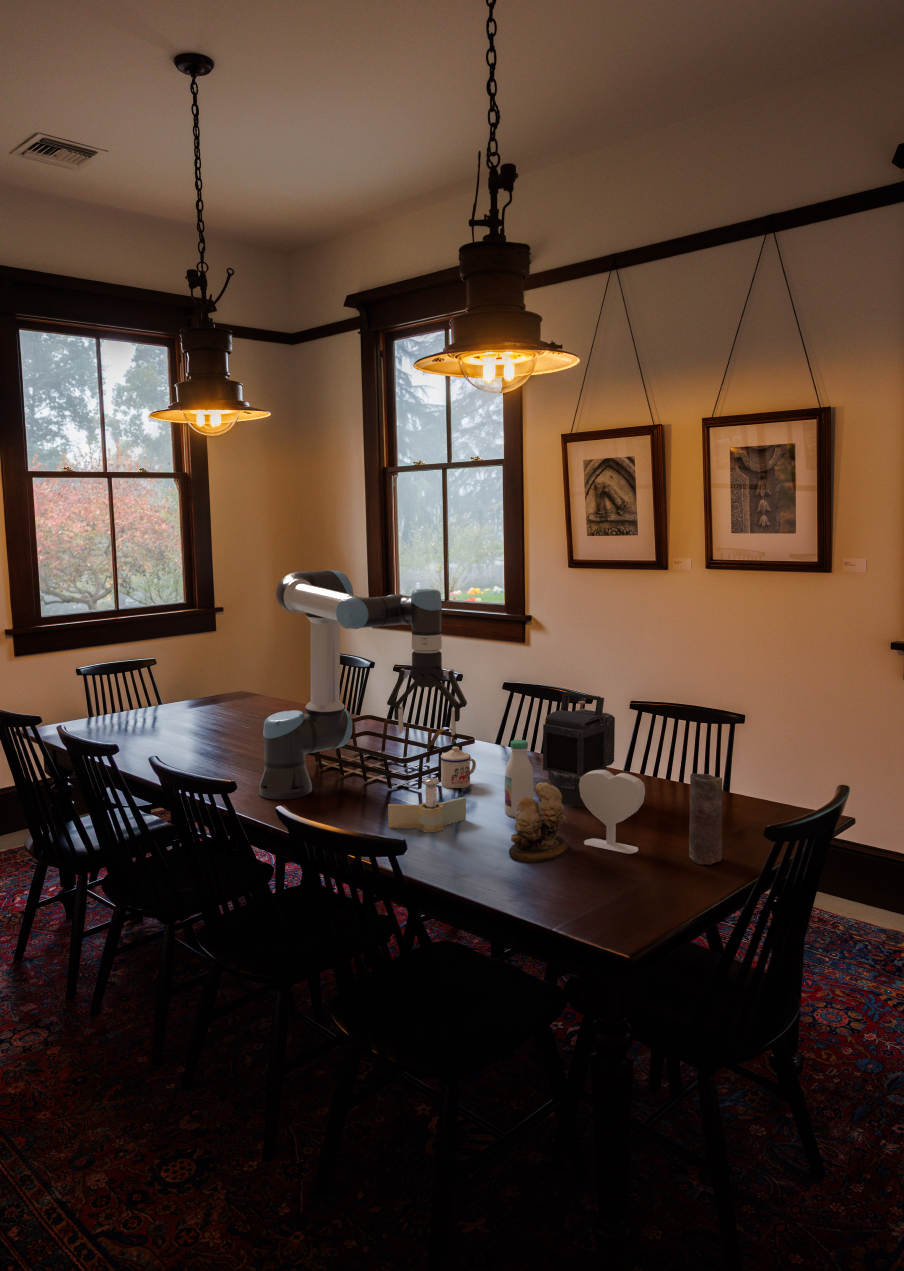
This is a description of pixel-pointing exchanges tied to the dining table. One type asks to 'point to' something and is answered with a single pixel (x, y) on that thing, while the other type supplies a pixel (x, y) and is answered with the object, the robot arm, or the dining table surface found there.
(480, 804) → the dining table surface
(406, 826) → the brass leaf
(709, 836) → the dark stone pillar
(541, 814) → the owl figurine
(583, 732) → the lantern
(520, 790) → the milk bottle
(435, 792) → the hinge pin
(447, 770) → the teacup with lid
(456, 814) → the pale green hinge leaf
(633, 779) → the heart sculpture
